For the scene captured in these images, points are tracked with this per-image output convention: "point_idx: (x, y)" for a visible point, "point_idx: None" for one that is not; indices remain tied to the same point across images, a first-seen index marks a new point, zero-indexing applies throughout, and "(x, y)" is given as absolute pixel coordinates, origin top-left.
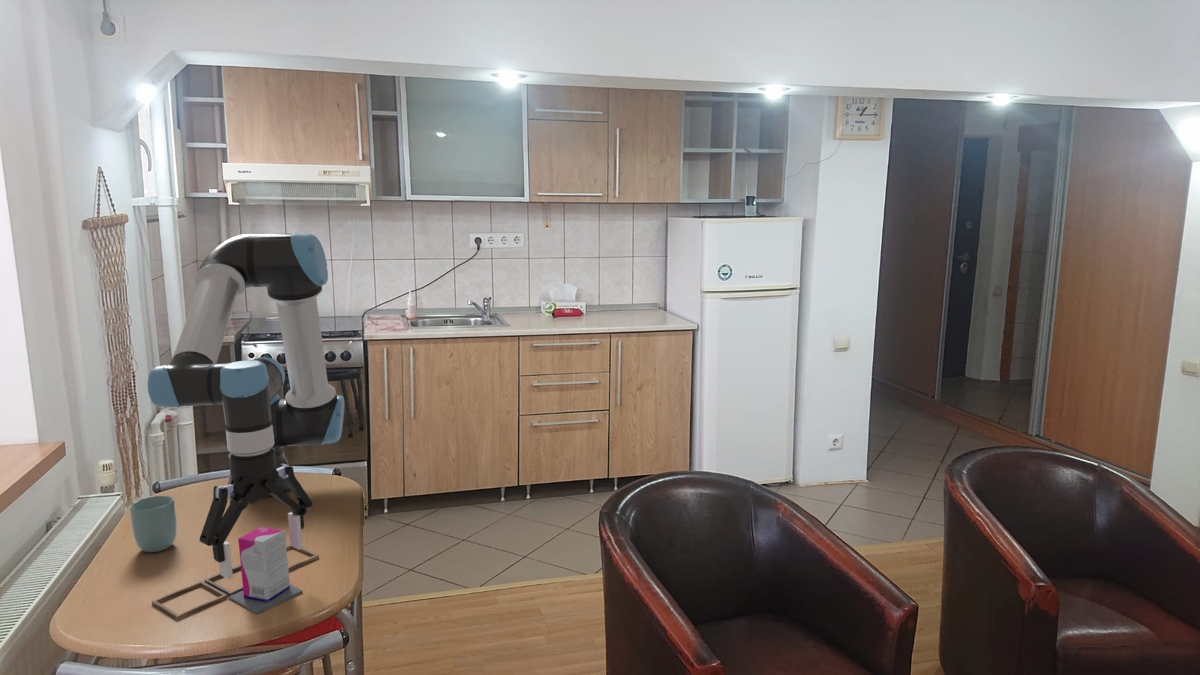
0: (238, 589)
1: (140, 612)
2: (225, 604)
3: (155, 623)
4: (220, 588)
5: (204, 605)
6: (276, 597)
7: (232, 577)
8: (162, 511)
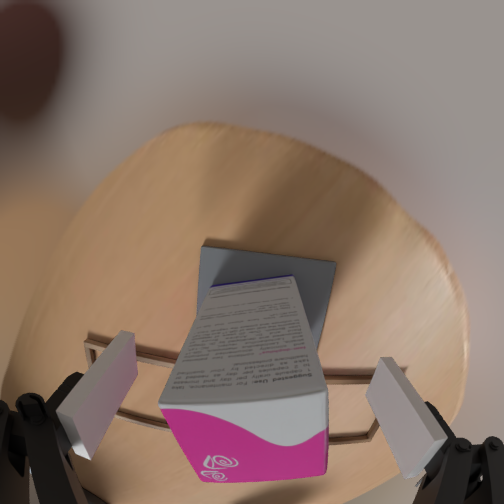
0: None
1: None
2: (330, 356)
3: (415, 388)
4: None
5: (356, 378)
6: (262, 277)
7: (382, 358)
8: None
